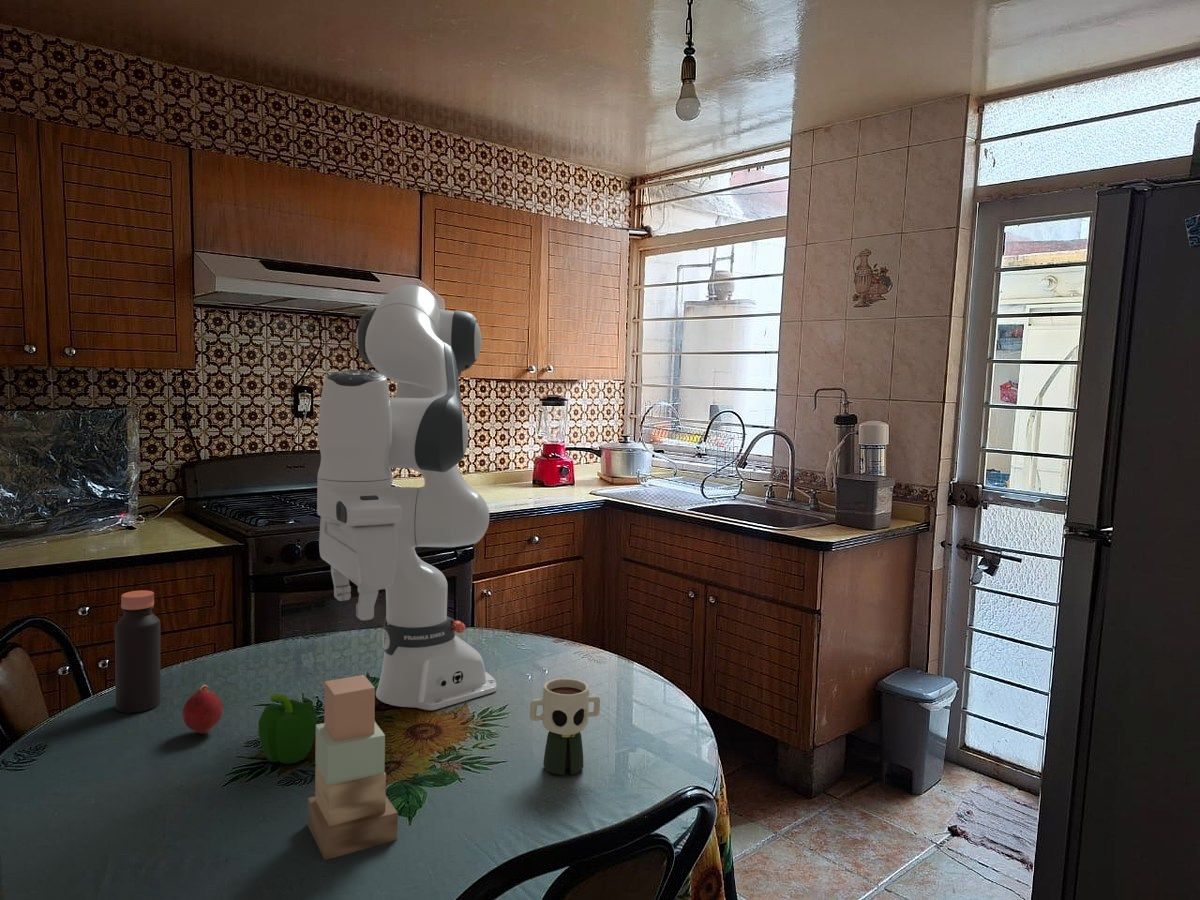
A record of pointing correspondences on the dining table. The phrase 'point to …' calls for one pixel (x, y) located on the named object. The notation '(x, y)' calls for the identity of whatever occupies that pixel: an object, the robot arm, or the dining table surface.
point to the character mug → (564, 722)
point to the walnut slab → (351, 831)
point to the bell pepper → (287, 730)
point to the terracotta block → (349, 707)
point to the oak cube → (350, 798)
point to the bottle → (137, 654)
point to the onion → (202, 710)
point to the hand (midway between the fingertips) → (353, 608)
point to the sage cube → (349, 756)
